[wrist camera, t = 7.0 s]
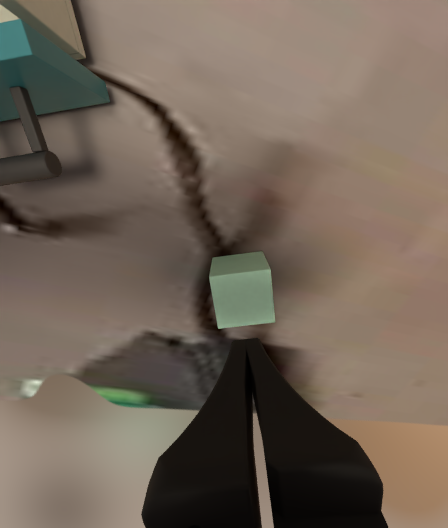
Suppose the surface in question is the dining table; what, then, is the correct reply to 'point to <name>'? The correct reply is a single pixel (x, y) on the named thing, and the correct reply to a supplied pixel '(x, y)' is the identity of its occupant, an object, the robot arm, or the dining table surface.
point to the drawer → (41, 78)
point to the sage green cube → (242, 290)
